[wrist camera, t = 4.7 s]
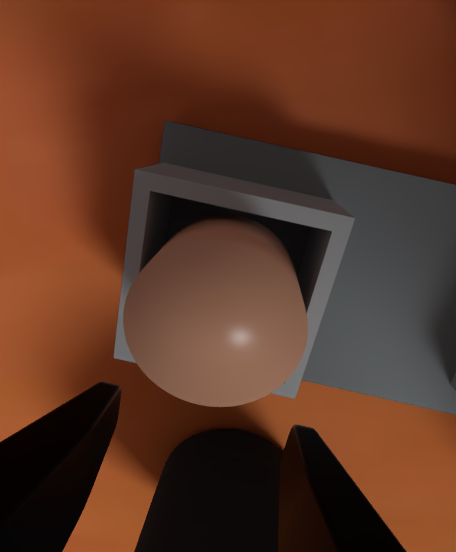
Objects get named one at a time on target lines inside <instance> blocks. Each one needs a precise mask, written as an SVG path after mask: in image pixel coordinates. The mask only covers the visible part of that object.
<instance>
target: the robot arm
mask: <svg viewBox="0 0 456 552" xmlns="http://www.w3.org/2000/svg"><path fill="white" fill-rule="evenodd" d="M120 398H121V387H120V386H119V385H115V384H111V383H106V382H100V383H98V384H96V385H94V386H93V387H91V388H89V389H88V390H86V391H84V392H83V393H81V394H79V395H78V396H76V397H74V398H73V399H71V400H69V401H68V402H66V403H64V404H63V405H61V406H59V407H58V408H56V409H54V410H53V411H51V412H49V413H48V414H46V415H44V416H43V417H41V418H39V419H38V420H36V421H34V422H33V423H31V424H29V425H28V426H26V427H24V428H23V429H21V430H19V431H18V432H16V433H15V434H13V435H11V436H10V437H8V438H6V439H5V440H3V441H1V442H0V552H62V551H63V549H64V547H65V545H66V543H67V541H68V539H69V537H70V535H71V533H72V532H73V530H74V528H75V526H76V524H77V522H78V520H79V518H80V516H81V513H82V511H83V509H84V507H85V505H86V502H87V500H88V497H89V495H90V493H91V490H92V487H93V485H94V482H95V480H96V477H97V474H98V472H99V469H100V467H101V464H102V462H103V459H104V456H105V454H106V451H107V449H108V446H109V443H110V441H111V438H112V436H113V433H114V430H115V427H116V424H117V420H118V413H119V406H120ZM278 552H406V550H405V549H404V548H403V546H402V545H401V544H400V542H399V541H398V540H397V538H396V537H395V536H394V534H393V533H392V532H391V530H390V529H389V528H388V526H387V525H386V524H385V522H384V521H383V520H382V518H381V517H380V516H379V514H378V513H377V512H376V510H375V509H374V508H373V506H372V505H371V504H370V502H369V501H368V500H367V498H366V497H365V496H364V494H363V493H362V492H361V490H360V489H359V488H358V486H357V485H356V484H355V482H354V481H353V480H352V478H351V477H350V476H349V474H348V473H347V472H346V470H345V469H344V468H343V466H342V465H341V464H340V462H339V461H338V460H337V458H336V457H335V456H334V454H333V453H332V452H331V450H330V449H329V448H328V446H327V445H326V444H325V442H324V441H323V440H322V438H321V437H320V436H319V434H318V433H317V432H316V431H315V430H314V429H313V428H310V427H306V426H301V425H294V426H293V427H292V428H291V431H290V433H289V436H288V439H287V442H286V445H285V448H284V451H283V453H282V457H281V463H280V491H279V528H278Z"/></svg>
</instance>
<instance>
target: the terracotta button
mask: <svg viewBox="0 0 456 552" xmlns="http://www.w3.org/2000/svg"><path fill="white" fill-rule="evenodd" d="M123 327H124V334H125V338H126V342H127V345H128V347H129V350H130V353H131V354H132V356H133V358H134V360H135V362H136V363H137V365H138V366H139V367H140V369H141V370H142V371H143V372H144V373H145V375H146V376H147V377H148V378H149V379H150V380H151V381H153V382H154V383H155V384H156V385H157V386H159V387H160V388H161V389H163V390H164V391H166V392H168V393H169V394H171V395H173V396H175V397H177V398H180V399H182V400H184V401H187V402H191V403H194V404H198V405H204V406H211V407H231V406H237V405H243V404H247V403H250V402H253V401H256V400H258V399H261V398H263V397H265V396H267V395H268V394H270V393H272V392H273V391H275V390H276V389H277V388H279V387H280V386H281V385H282V384H283V383H284V382H285V381H286V380H288V379H289V377H290V376H291V375H292V373H293V372H294V371H295V369H296V368H297V366H298V364H299V363H300V361H301V358H302V356H303V354H304V351H305V347H306V343H307V336H308V320H307V314H306V309H305V305H304V302H303V298H302V294H301V290H300V287H299V283H298V279H297V276H296V272H295V268H294V265H293V262H292V259H291V256H290V254H289V252H288V250H287V249H286V247H285V246H284V244H283V243H282V241H281V240H280V239H279V238H278V237H277V236H276V235H275V234H274V233H273V232H272V231H271V230H269V229H268V228H267V227H265V226H264V225H262V224H260V223H259V222H256V221H254V220H252V219H250V218H246V217H243V216H239V215H232V214H217V215H210V216H206V217H202V218H199V219H197V220H194V221H192V222H190V223H189V224H187V225H185V226H184V227H183V228H181V229H180V230H179V231H177V232H176V233H175V234H174V235H173V236H172V238H171V239H170V240H169V241H168V242H167V243H166V244H165V245H164V246H163V247H162V248H161V250H160V251H159V252H158V253H157V254H156V255H155V256H154V257H153V258H152V259H151V261H150V262H149V263H148V264H147V265H146V266H145V267H144V268H143V269H142V270H141V272H140V273H139V274H138V276H137V277H136V278H135V280H134V282H133V283H132V285H131V287H130V289H129V292H128V294H127V297H126V300H125V305H124V310H123Z"/></svg>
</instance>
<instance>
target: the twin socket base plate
mask: <svg viewBox="0 0 456 552" xmlns="http://www.w3.org/2000/svg"><path fill="white" fill-rule="evenodd" d="M217 214H232V215H239V216H243V217H246V218H250V219H252V220H254V221H256V222H259V223H260V224H262V225H264V226H265V227H267V228H268V229H269V230H271V231H272V232H273V233H274V234H275V235H276V236H277V237H278V238H279V239H280V240H281V241H282V243H283V244H284V246H285V247H286V249H287V250H288V252H289V254H290V256H291V259H292V262H293V265H294V268H295V272H296V276H297V279H298V283H299V287H300V290H301V294H302V298H303V302H304V305H305V309H306V314H307V320H308V336H307V343H306V347H305V351H304V354H303V356H302V358H301V361H300V363H299V364H298V366H297V368H296V369H295V371H294V372H293V373H292V375H291V376H290V377H289V379H288V380H286V381H285V382H284V383H283V384H282V385H281V386H280V387H279V388H277V389H276V390H275V391H273V392H272V393H271V394H276V395H280V396H285V397H289V398H294V399H295V398H296V395H297V392H298V389H299V386H300V383H301V380H304V381H308V382H313V383H317V384H322V385H326V386H330V387H335V388H339V389H344V390H348V391H353V392H357V393H362V394H366V395H371V396H375V397H379V398H384V399H388V400H393V401H397V402H402V403H406V404H411V405H415V406H420V407H424V408H428V409H433V410H437V411H442V412H446V413H451V414H455V415H456V185H454V184H450V183H445V182H441V181H436V180H432V179H427V178H423V177H418V176H414V175H409V174H405V173H400V172H396V171H391V170H387V169H382V168H377V167H373V166H368V165H364V164H359V163H355V162H350V161H346V160H341V159H337V158H332V157H328V156H323V155H319V154H314V153H310V152H305V151H301V150H296V149H292V148H287V147H283V146H278V145H274V144H269V143H265V142H260V141H256V140H251V139H247V138H242V137H238V136H233V135H229V134H224V133H219V132H215V131H210V130H206V129H201V128H197V127H192V126H188V125H183V124H179V123H174V122H170V121H165V122H164V129H163V137H162V144H161V152H160V159H159V164H155V165H151V166H147V167H142V168H138V169H135V172H134V181H133V190H132V199H131V207H130V216H129V225H128V234H127V243H126V252H125V260H124V269H123V278H122V287H121V296H120V305H119V313H118V322H117V331H116V340H115V349H114V358H116V359H120V360H125V361H129V362H133V363H136V362H135V360H134V358H133V356H132V354H131V353H130V350H129V347H128V345H127V342H126V338H125V334H124V327H123V310H124V305H125V300H126V297H127V294H128V292H129V289H130V287H131V285H132V283H133V282H134V280H135V278H136V277H137V276H138V274H139V273H140V272H141V270H142V269H143V268H144V267H145V266H146V265H147V264H148V263H149V262H150V261H151V259H152V258H153V257H154V256H155V255H156V254H157V253H158V252H159V251H160V250H161V248H162V247H163V246H164V245H165V244H166V243H167V242H168V241H169V240H170V239H171V238H172V236H173V235H174V234H175V233H176V232H177V231H179V230H180V229H181V228H183V227H184V226H185V225H187V224H189V223H190V222H192V221H194V220H197V219H199V218H202V217H206V216H210V215H217Z"/></svg>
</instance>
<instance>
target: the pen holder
mask: <svg viewBox="0 0 456 552" xmlns="http://www.w3.org/2000/svg"><path fill="white" fill-rule="evenodd" d="M281 457H282V452H281V451H280V450H279V449H278V448H277V447H276V446H274V445H273V444H272V443H270V442H269V441H267V440H265V439H264V438H262V437H260V436H257V435H255V434H252V433H249V432H246V431H241V430H234V429H217V430H210V431H206V432H202V433H200V434H197V435H195V436H193V437H191V438H189V439H187V440H185V441H184V442H182V443H181V444H180V445H179V446H178V447H177V448H176V449H174V451H173V452H172V453H171V455H170V456H169V458H168V460H167V462H166V464H165V466H164V469H163V472H162V474H161V477H160V480H159V483H158V486H157V488H156V491H155V494H154V496H153V499H152V502H151V505H150V508H149V511H148V514H147V517H146V519H145V522H144V525H143V528H142V531H141V534H140V537H139V540H138V543H137V546H136V548H135V551H134V552H278V528H279V491H280V463H281Z"/></svg>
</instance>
